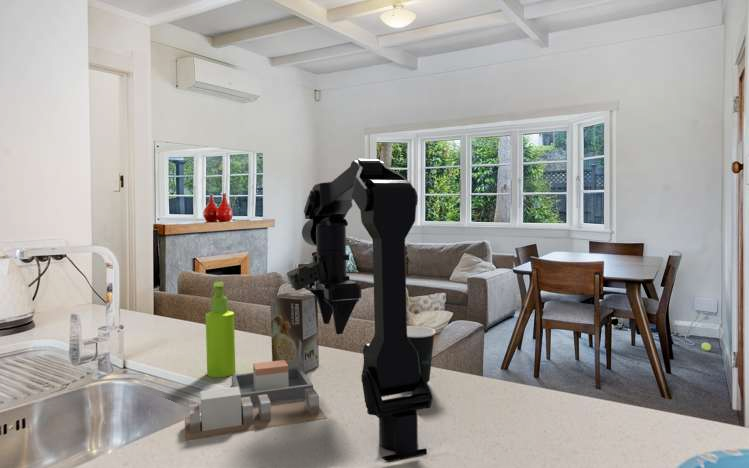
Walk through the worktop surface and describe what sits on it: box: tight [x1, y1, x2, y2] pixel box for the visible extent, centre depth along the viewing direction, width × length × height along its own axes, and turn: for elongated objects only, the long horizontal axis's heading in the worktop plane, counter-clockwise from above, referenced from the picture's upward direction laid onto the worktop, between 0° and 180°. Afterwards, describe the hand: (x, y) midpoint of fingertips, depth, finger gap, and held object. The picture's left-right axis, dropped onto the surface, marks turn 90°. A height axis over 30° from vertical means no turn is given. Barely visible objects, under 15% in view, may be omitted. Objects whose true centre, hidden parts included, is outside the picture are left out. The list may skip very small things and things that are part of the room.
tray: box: [231, 367, 314, 406], centre depth 99 cm, size 12×14×3 cm
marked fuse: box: [252, 360, 289, 391], centre depth 99 cm, size 4×6×5 cm, turn 110°
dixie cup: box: [407, 325, 436, 385], centre depth 104 cm, size 8×8×11 cm
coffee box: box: [269, 292, 320, 373], centre depth 116 cm, size 9×6×16 cm
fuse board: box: [184, 387, 328, 442], centre depth 86 cm, size 9×22×4 cm, turn 110°
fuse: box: [200, 386, 242, 431], centre depth 84 cm, size 4×6×5 cm, turn 110°
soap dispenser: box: [205, 281, 236, 379], centre depth 112 cm, size 6×7×20 cm
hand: (332, 328), depth 102 cm, fingers open, 9 cm apart
